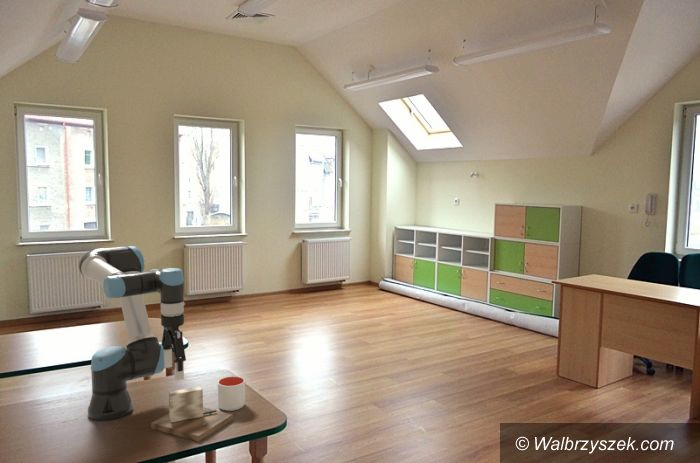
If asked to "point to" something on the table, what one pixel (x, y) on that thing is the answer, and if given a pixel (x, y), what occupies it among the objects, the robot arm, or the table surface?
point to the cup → (231, 393)
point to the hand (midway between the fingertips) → (173, 373)
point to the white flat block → (186, 404)
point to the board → (193, 425)
